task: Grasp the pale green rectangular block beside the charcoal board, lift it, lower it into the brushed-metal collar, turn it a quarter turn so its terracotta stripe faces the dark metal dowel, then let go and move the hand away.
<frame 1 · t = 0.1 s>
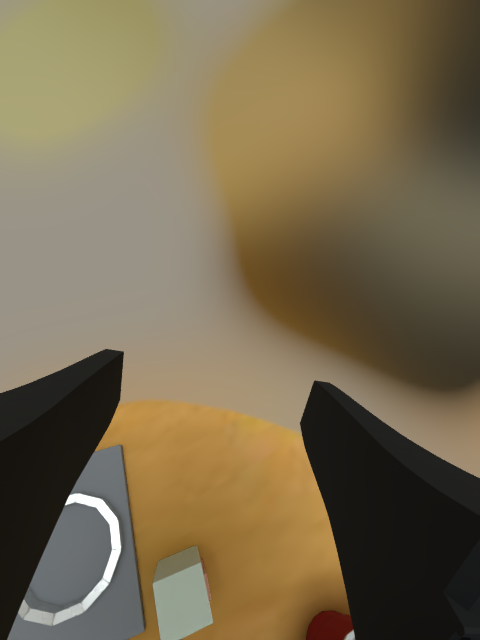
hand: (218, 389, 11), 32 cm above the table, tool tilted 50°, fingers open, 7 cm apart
collar: (67, 538, 31), on the base board, point 2 cm above the table
pale green rectangular block: (182, 576, 33), on the table
base board: (75, 547, 32), on the table
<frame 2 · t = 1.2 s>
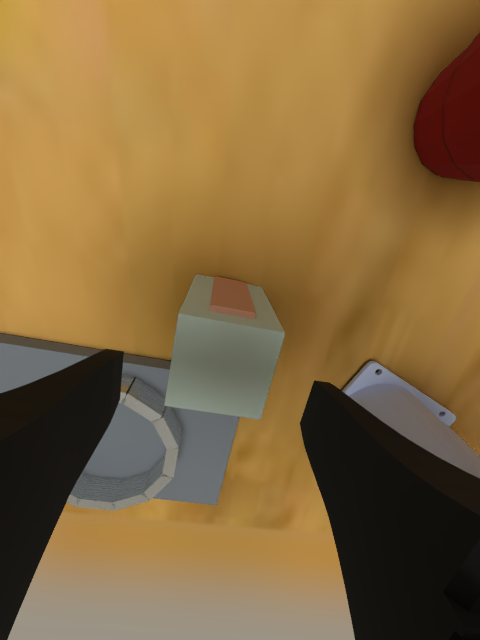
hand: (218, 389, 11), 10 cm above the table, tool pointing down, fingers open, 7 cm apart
collar: (85, 443, 20), on the base board, point 2 cm above the table
pale green rectangular block: (222, 311, 20), on the table
base board: (115, 422, 23), on the table
plastic cup: (455, 122, 17), on the table
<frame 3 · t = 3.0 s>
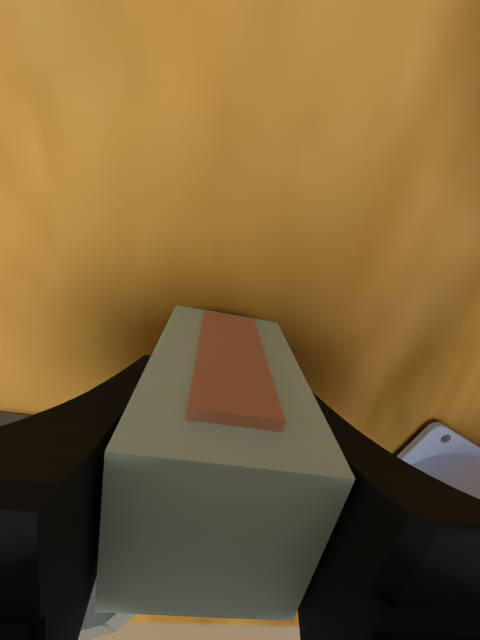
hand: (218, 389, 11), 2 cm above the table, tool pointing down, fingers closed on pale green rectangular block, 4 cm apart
collar: (15, 558, 13), on the base board, point 2 cm above the table
pale green rectangular block: (218, 359, 13), on the table, touching gripper
when the fingers open (4 cm above the table, at t = 9.7 s): pale green rectangular block stays where it is, resting on base board.
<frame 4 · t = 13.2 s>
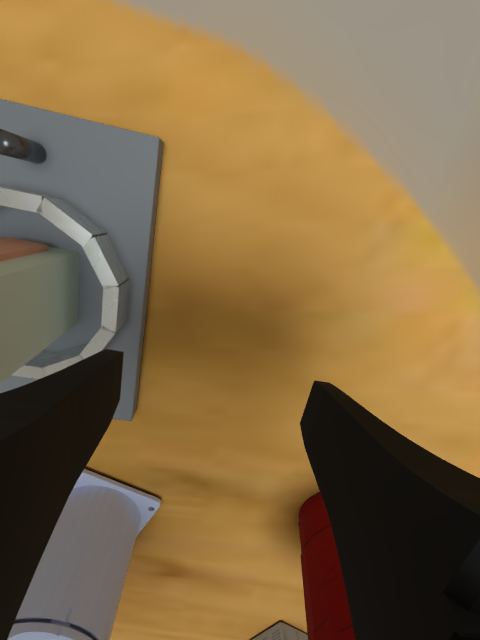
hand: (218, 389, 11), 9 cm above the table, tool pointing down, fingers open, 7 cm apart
collar: (25, 268, 16), on the base board, point 2 cm above the table
pale green rectangular block: (39, 282, 17), point 1 cm above the table, touching base board
base board: (50, 280, 18), on the table
plastic cup: (329, 508, 27), on the table
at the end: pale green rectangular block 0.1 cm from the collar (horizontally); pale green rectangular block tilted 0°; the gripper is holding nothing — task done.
